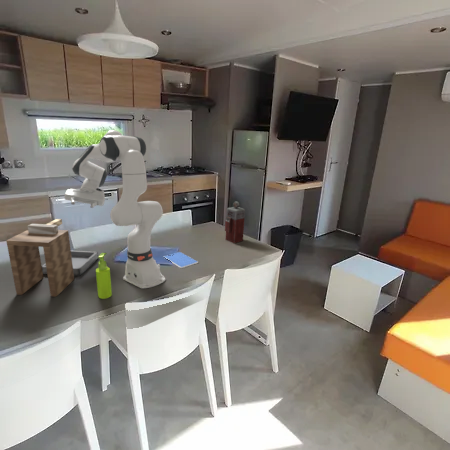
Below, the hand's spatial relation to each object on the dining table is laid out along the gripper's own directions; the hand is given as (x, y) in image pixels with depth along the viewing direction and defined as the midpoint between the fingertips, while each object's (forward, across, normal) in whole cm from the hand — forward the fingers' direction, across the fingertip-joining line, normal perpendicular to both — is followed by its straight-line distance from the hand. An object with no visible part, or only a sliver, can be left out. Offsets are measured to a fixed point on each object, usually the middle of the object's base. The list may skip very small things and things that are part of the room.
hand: (82, 205), depth 161 cm
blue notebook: (+13, +57, +19) cm, 62 cm away
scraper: (+20, -9, +3) cm, 22 cm away
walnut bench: (+37, -6, +24) cm, 45 cm away
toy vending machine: (-16, +96, +19) cm, 99 cm away
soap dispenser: (+47, +20, +16) cm, 53 cm away
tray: (+15, -1, +30) cm, 34 cm away
